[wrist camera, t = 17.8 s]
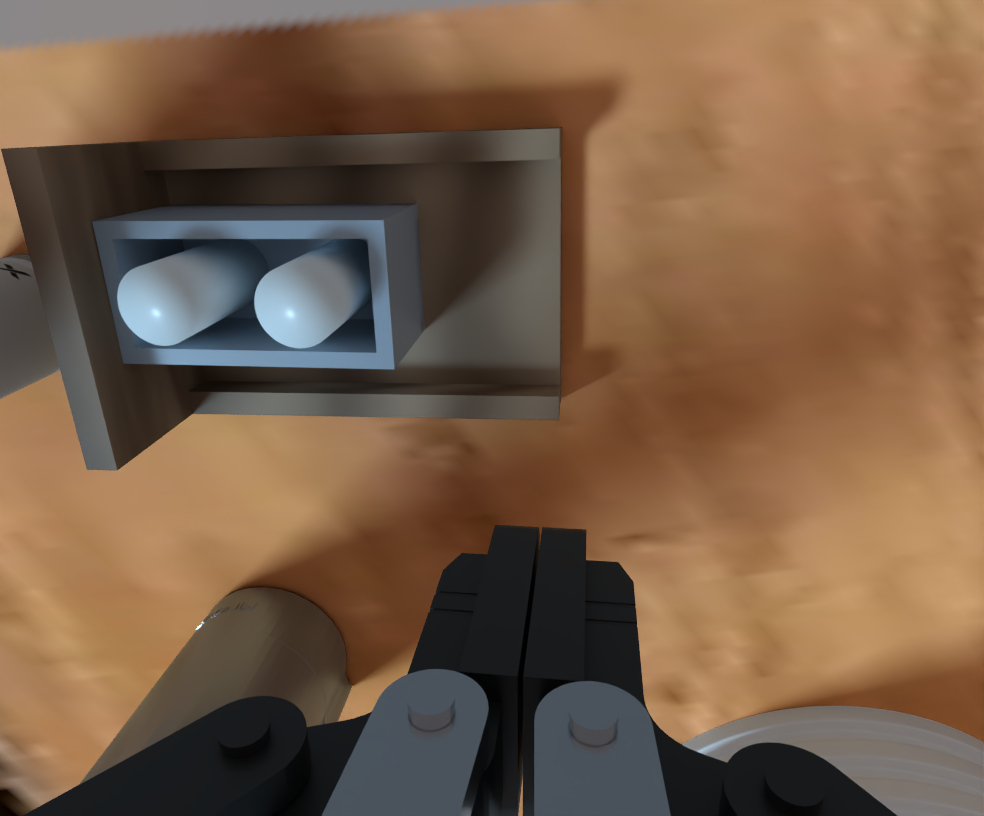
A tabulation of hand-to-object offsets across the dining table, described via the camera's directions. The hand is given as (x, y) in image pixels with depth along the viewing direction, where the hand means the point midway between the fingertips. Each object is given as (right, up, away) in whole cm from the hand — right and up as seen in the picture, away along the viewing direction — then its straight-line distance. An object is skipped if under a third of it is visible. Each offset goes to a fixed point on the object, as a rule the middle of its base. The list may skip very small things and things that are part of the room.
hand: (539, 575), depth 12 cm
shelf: (-7, +9, +24) cm, 27 cm away
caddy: (-10, +10, +23) cm, 27 cm away
